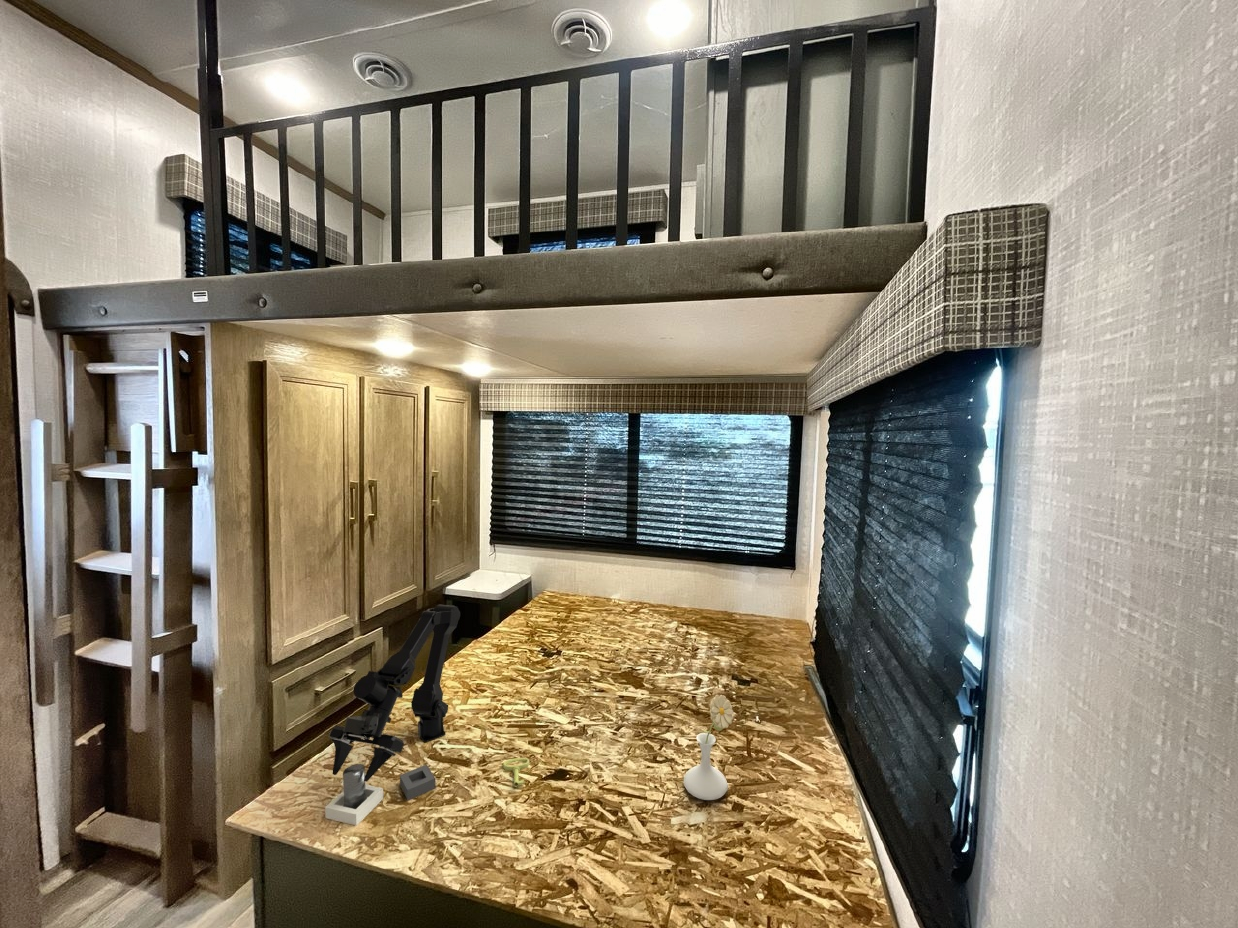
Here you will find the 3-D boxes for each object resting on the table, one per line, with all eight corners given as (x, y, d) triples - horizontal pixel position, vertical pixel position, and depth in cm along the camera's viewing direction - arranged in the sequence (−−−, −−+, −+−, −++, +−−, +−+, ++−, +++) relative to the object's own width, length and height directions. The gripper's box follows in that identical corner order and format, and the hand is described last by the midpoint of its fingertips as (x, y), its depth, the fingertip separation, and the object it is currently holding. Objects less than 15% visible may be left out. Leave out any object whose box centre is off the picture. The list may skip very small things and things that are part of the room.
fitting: (369, 795, 128) (368, 761, 128) (363, 810, 123) (362, 775, 122) (347, 798, 127) (346, 764, 127) (340, 814, 122) (338, 778, 121)
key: (514, 792, 131) (514, 784, 131) (501, 764, 142) (500, 757, 142) (540, 782, 135) (540, 775, 135) (525, 756, 145) (525, 749, 145)
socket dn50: (353, 792, 131) (353, 781, 130) (383, 798, 128) (382, 788, 128) (325, 818, 122) (325, 807, 122) (356, 825, 120) (356, 814, 119)
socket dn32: (427, 773, 137) (426, 764, 137) (435, 788, 132) (435, 778, 132) (400, 785, 133) (399, 775, 133) (407, 800, 128) (407, 789, 127)
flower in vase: (694, 809, 125) (695, 712, 123) (676, 778, 136) (677, 689, 134) (741, 798, 128) (743, 703, 126) (720, 769, 139) (721, 682, 137)
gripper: (332, 695, 129) (297, 764, 120) (394, 705, 125) (363, 777, 115) (356, 708, 138) (325, 773, 128) (416, 718, 133) (388, 786, 123)
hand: (349, 777), depth 123 cm, fingers open, 9 cm apart
